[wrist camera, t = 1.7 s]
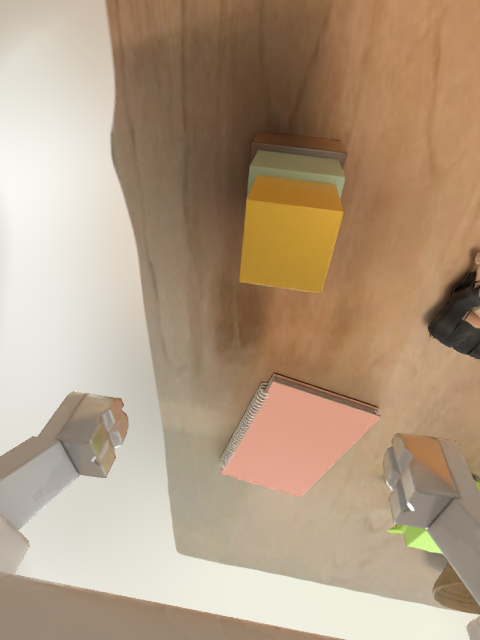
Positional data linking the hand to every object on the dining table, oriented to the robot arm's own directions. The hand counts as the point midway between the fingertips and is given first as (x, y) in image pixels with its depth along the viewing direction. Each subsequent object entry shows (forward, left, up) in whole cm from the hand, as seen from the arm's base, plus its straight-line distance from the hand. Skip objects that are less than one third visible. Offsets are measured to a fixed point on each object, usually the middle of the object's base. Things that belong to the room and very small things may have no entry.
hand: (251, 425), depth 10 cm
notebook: (+7, -39, -26) cm, 48 cm away
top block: (+1, +1, -16) cm, 16 cm away
